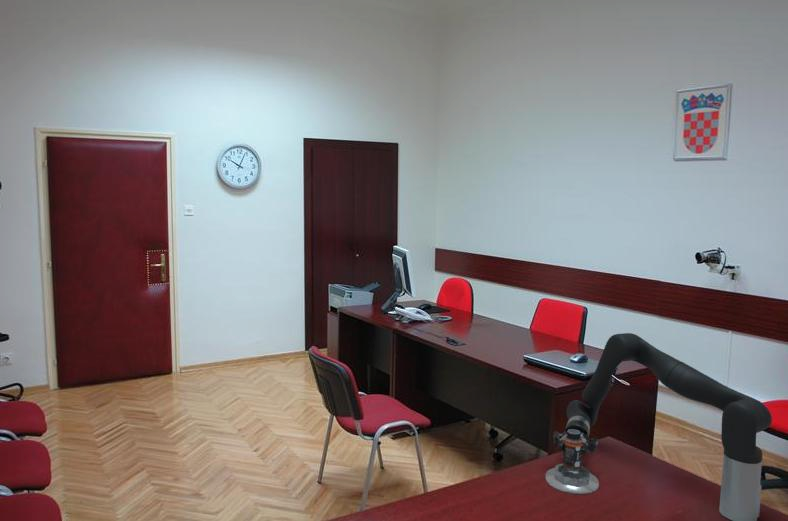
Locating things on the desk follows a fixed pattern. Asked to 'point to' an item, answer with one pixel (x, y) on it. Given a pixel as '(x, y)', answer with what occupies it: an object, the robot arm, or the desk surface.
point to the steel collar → (572, 480)
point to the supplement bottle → (572, 449)
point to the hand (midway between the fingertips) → (572, 450)
